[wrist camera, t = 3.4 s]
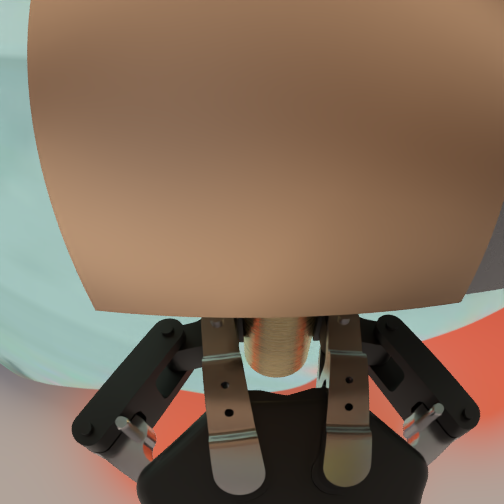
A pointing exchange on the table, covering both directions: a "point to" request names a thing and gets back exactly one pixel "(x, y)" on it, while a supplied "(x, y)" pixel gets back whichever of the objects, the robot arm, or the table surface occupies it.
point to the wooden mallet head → (270, 150)
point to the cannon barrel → (277, 344)
